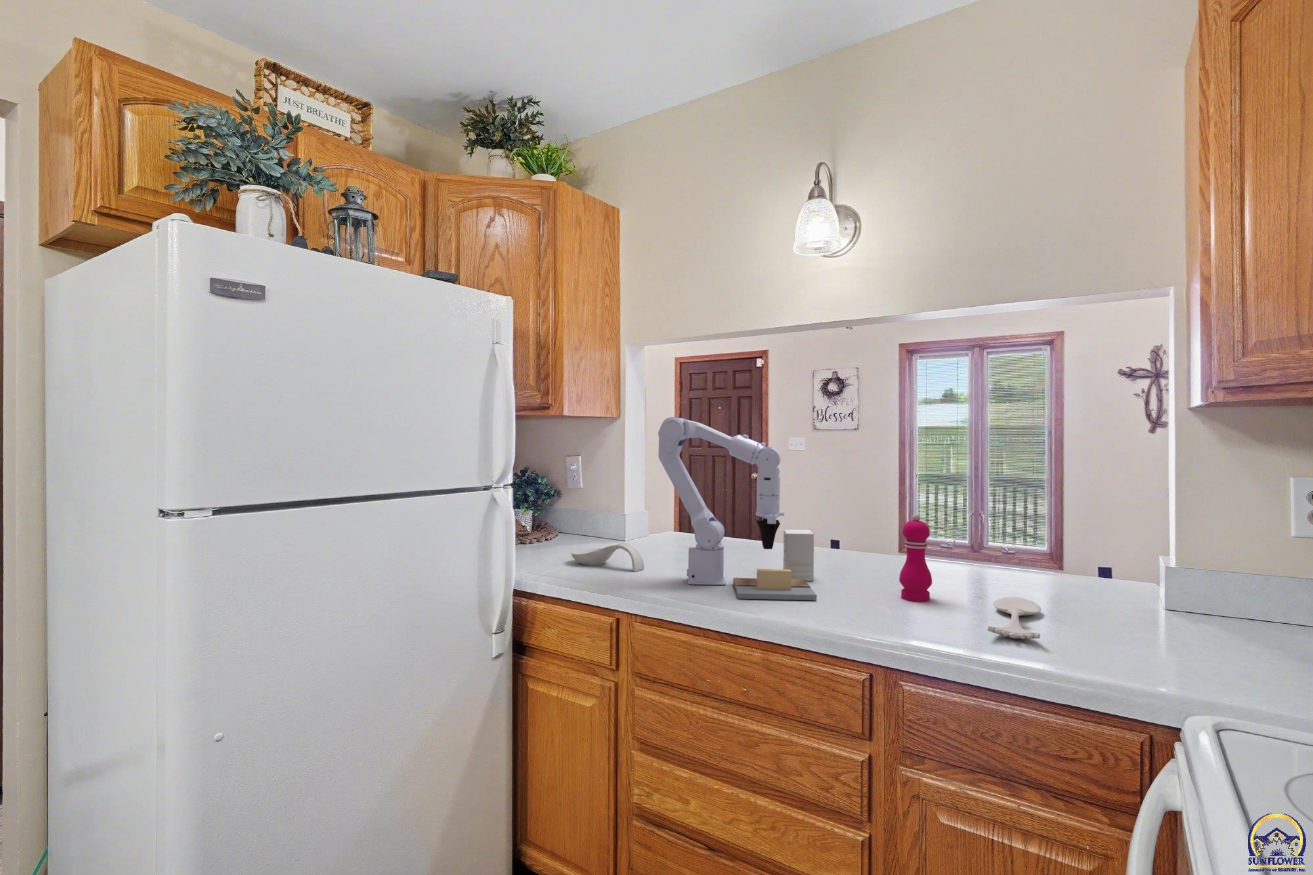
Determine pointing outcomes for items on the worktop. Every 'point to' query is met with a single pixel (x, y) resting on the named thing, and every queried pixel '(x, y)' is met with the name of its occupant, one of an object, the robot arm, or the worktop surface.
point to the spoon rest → (608, 556)
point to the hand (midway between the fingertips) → (767, 548)
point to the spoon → (1015, 617)
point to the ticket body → (753, 582)
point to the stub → (775, 587)
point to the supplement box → (799, 553)
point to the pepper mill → (915, 562)
